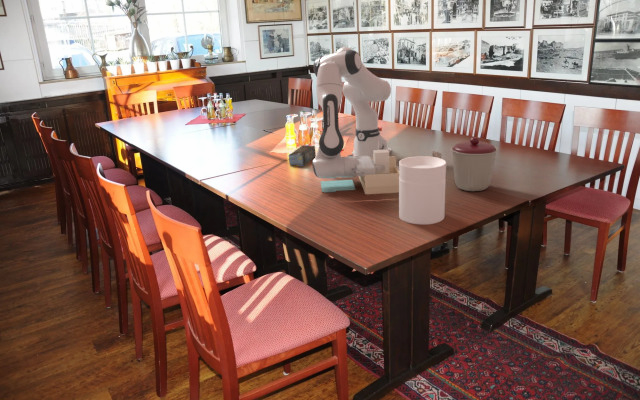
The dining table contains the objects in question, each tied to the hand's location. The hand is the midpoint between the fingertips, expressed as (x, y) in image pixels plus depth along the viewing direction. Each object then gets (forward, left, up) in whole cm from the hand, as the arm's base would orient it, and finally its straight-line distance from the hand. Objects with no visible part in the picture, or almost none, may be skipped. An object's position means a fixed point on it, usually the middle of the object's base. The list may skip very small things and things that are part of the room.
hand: (383, 165), depth 221 cm
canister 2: (-12, +34, -9) cm, 38 cm away
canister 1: (+27, +30, -9) cm, 41 cm away
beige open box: (+1, -1, -9) cm, 9 cm away
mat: (+12, -16, -9) cm, 22 cm away
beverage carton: (-15, -55, -9) cm, 58 cm away
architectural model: (-35, +8, -9) cm, 37 cm away
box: (+1, -1, -8) cm, 8 cm away
